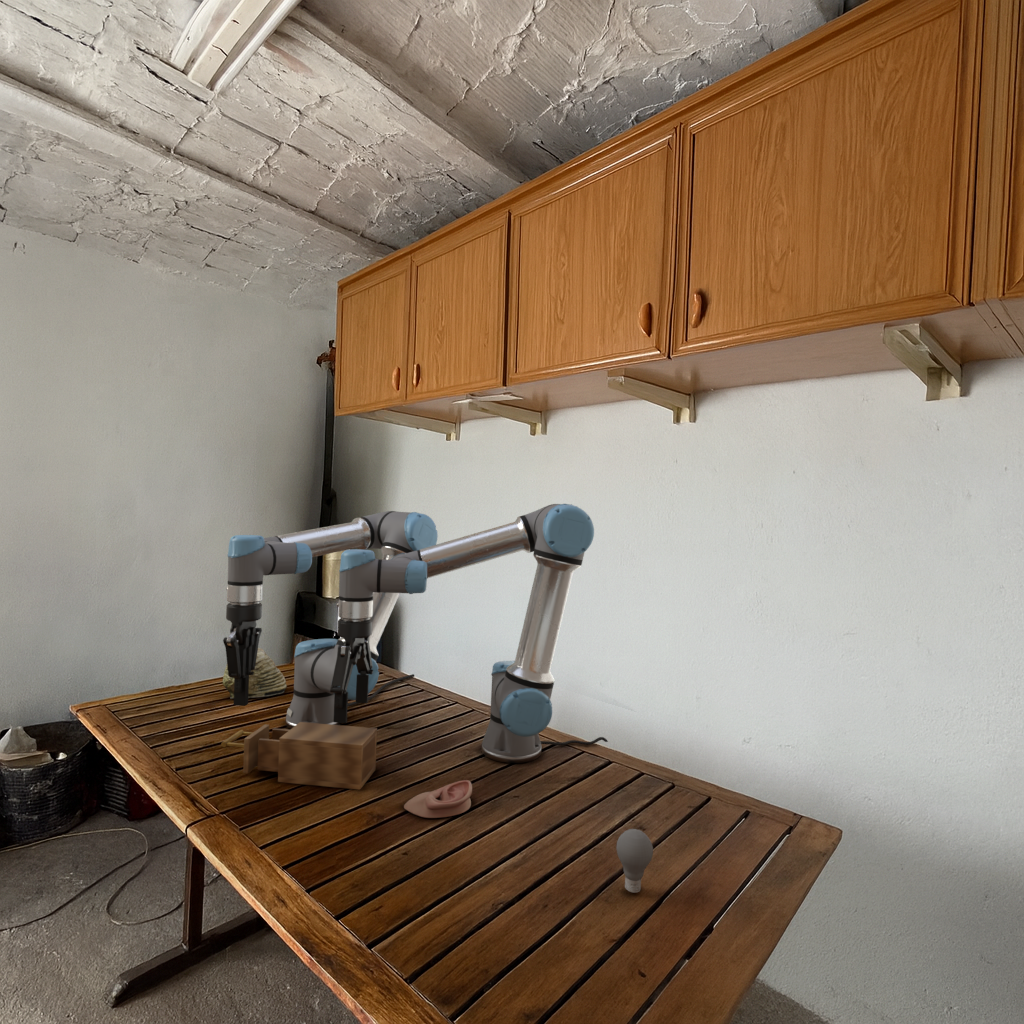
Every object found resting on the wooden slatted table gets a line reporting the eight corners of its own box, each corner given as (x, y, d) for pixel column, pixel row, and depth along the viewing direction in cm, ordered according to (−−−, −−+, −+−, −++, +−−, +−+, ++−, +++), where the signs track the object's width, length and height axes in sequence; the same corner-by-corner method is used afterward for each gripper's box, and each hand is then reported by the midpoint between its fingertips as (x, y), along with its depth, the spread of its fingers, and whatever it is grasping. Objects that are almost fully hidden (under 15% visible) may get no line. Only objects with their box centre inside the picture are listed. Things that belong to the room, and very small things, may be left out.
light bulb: (610, 879, 108) (613, 822, 108) (644, 879, 109) (647, 822, 109) (619, 902, 102) (622, 840, 102) (655, 901, 103) (658, 840, 103)
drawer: (218, 770, 142) (219, 736, 142) (240, 754, 151) (241, 722, 151) (317, 779, 139) (319, 745, 139) (334, 762, 148) (335, 730, 148)
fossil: (218, 695, 195) (220, 647, 195) (278, 685, 208) (279, 640, 207) (228, 703, 189) (230, 653, 188) (289, 692, 201) (290, 645, 201)
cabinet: (277, 782, 140) (279, 738, 139) (298, 762, 150) (300, 721, 150) (360, 789, 138) (361, 745, 137) (375, 769, 148) (377, 728, 148)
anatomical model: (398, 794, 127) (418, 771, 139) (398, 814, 128) (417, 789, 139) (462, 803, 125) (477, 779, 136) (461, 823, 125) (476, 797, 136)
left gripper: (243, 597, 152) (240, 694, 153) (212, 606, 139) (209, 712, 140) (273, 599, 151) (270, 697, 152) (245, 608, 138) (241, 715, 139)
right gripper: (358, 608, 155) (354, 694, 156) (316, 628, 131) (312, 730, 131) (387, 610, 155) (384, 696, 155) (351, 630, 130) (347, 733, 130)
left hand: (240, 704), depth 146 cm, fingers closed
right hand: (351, 712), depth 143 cm, fingers open, 13 cm apart
